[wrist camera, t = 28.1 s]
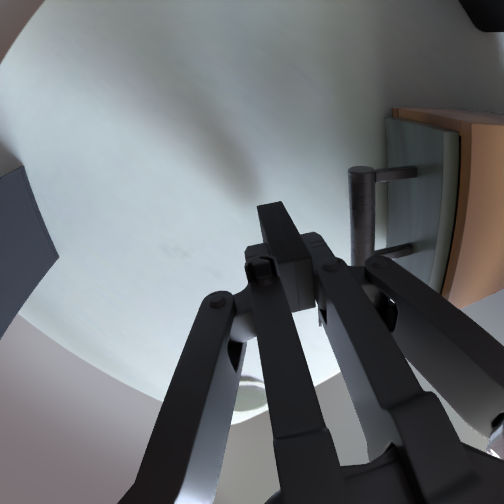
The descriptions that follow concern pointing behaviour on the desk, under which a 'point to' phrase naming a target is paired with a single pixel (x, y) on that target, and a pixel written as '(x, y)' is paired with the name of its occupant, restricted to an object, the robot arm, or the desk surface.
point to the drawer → (410, 199)
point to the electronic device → (485, 14)
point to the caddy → (20, 245)
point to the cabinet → (473, 203)
